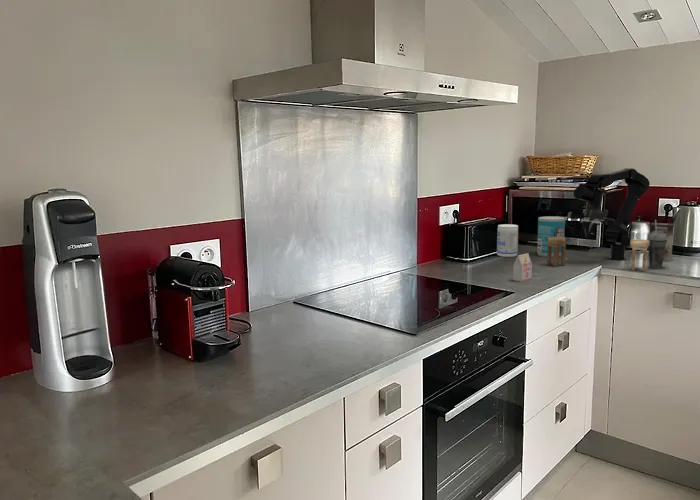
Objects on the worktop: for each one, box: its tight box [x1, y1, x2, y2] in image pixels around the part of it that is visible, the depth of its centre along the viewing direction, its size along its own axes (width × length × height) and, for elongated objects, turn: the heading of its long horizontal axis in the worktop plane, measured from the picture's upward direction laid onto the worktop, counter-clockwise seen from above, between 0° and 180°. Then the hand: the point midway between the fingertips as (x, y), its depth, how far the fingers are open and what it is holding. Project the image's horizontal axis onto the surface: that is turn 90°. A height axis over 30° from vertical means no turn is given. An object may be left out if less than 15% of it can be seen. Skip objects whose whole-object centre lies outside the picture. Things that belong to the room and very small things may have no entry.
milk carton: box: [512, 252, 533, 283], centre depth 217 cm, size 4×7×10 cm, turn 128°
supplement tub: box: [496, 223, 519, 258], centre depth 269 cm, size 10×10×15 cm
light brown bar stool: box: [630, 238, 650, 272], centre depth 230 cm, size 7×7×12 cm
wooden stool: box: [546, 236, 567, 268], centre depth 243 cm, size 7×7×12 cm
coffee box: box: [647, 222, 675, 262], centre depth 249 cm, size 9×6×16 cm
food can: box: [536, 215, 566, 258], centre depth 266 cm, size 12×12×18 cm
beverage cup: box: [646, 219, 667, 270], centre depth 231 cm, size 7×7×20 cm
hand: (587, 238), depth 245 cm, fingers closed
